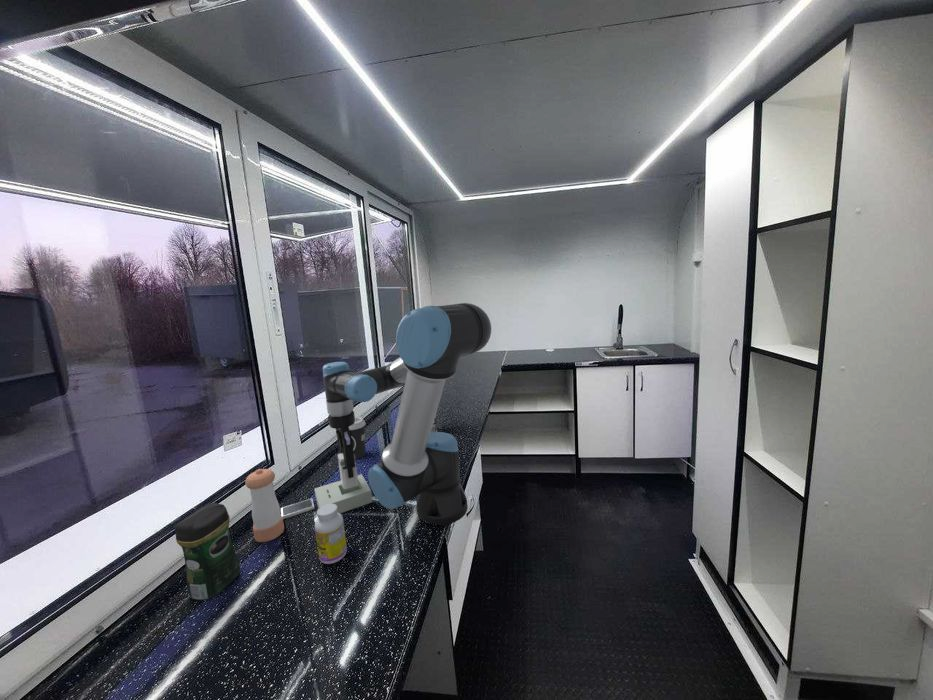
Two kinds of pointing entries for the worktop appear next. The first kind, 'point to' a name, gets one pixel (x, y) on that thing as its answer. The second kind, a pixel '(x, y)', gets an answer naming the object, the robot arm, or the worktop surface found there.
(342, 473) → the block
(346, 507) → the outlet plate
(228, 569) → the coffee jar
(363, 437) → the coffee cup
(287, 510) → the phone
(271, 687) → the worktop surface
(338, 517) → the supplement bottle
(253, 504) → the pepper shaker
